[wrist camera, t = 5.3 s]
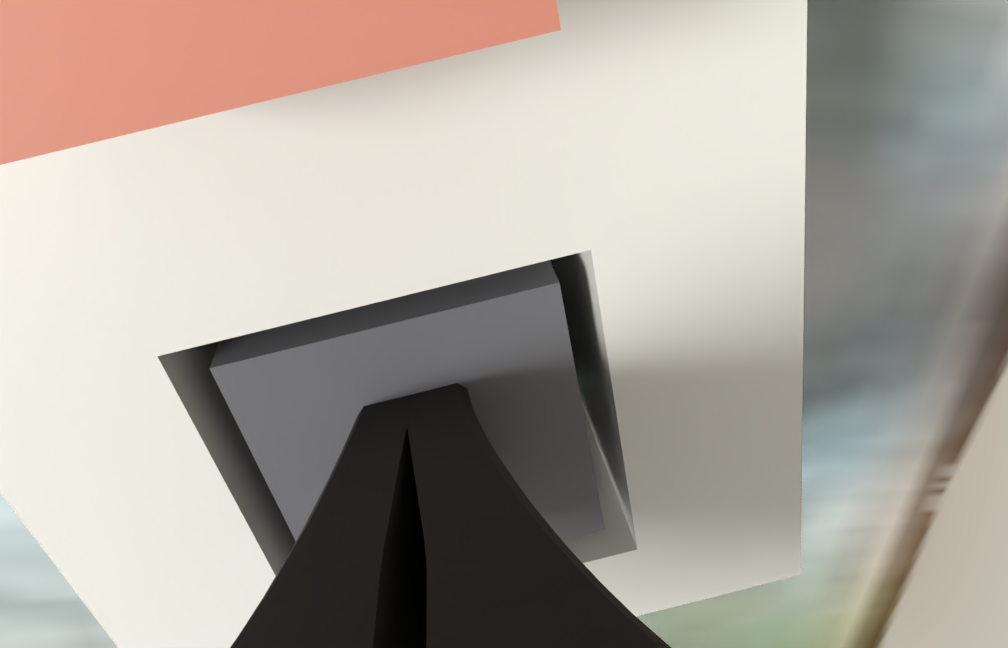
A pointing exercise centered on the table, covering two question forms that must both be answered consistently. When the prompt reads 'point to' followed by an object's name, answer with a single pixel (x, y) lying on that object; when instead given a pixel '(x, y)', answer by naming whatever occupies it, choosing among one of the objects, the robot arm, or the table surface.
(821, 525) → the table surface
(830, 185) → the table surface
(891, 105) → the table surface
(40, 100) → the middle knob
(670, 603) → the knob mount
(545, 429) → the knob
